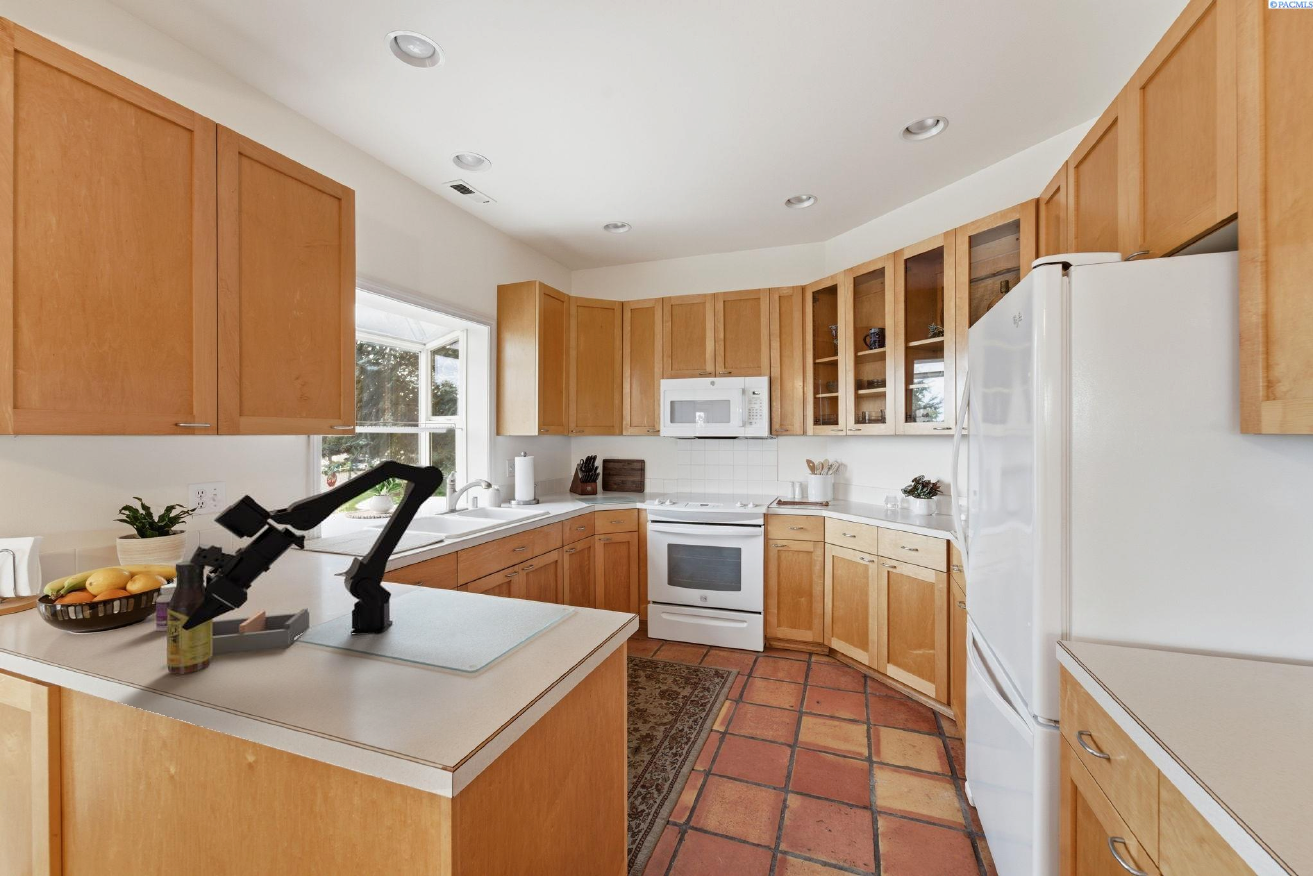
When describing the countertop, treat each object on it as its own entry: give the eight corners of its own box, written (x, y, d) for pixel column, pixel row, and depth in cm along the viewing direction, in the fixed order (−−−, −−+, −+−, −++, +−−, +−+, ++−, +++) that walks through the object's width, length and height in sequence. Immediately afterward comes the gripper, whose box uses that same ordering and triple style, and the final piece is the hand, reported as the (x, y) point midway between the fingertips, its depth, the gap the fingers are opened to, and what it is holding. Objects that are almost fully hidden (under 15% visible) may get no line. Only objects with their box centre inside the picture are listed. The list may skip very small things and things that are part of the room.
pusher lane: (309, 627, 116) (309, 607, 116) (288, 647, 104) (288, 625, 104) (210, 637, 111) (210, 616, 111) (176, 659, 99) (176, 636, 99)
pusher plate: (265, 630, 112) (265, 610, 112) (245, 646, 103) (244, 625, 103) (260, 630, 112) (260, 611, 112) (239, 647, 103) (239, 625, 103)
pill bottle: (173, 632, 114) (172, 588, 114) (149, 632, 114) (149, 588, 114) (195, 623, 119) (195, 581, 119) (172, 623, 119) (172, 581, 119)
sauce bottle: (165, 669, 95) (164, 561, 95) (210, 658, 99) (209, 555, 100) (168, 680, 90) (167, 567, 90) (215, 668, 95) (214, 560, 95)
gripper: (223, 522, 105) (148, 586, 98) (223, 534, 91) (134, 610, 84) (271, 555, 110) (203, 618, 103) (278, 571, 96) (199, 646, 89)
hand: (185, 622), depth 95 cm, fingers open, 9 cm apart
